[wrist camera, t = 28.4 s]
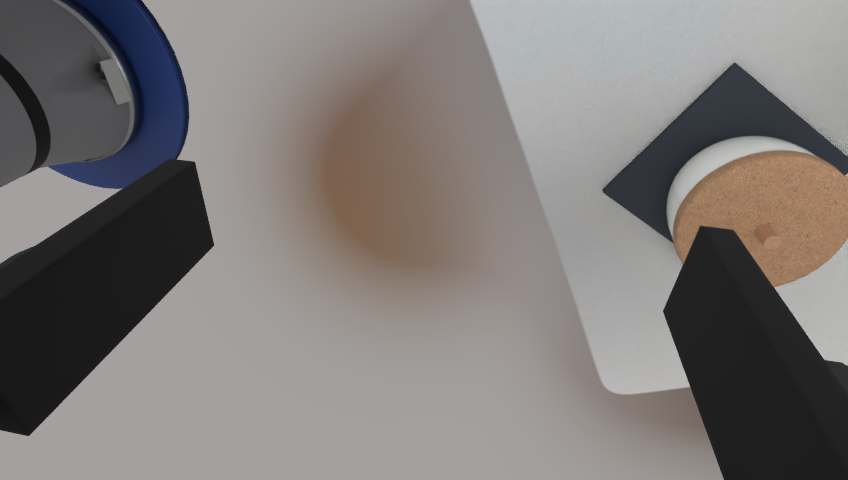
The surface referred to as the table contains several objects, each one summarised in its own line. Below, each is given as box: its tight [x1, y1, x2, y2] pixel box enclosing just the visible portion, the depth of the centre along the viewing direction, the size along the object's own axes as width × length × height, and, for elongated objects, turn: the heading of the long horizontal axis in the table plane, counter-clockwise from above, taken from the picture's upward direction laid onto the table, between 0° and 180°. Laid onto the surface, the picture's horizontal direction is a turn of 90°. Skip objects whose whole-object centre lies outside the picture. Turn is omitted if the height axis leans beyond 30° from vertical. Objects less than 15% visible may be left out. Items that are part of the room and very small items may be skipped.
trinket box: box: [667, 136, 848, 287], centre depth 35 cm, size 11×11×9 cm
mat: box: [603, 63, 848, 243], centre depth 39 cm, size 13×13×1 cm
